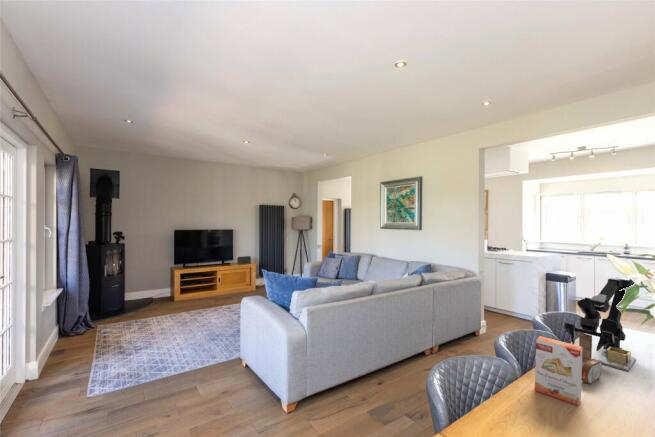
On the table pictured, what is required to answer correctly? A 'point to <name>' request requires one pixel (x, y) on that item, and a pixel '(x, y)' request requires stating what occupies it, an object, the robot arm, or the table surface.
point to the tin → (591, 371)
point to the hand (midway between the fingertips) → (584, 347)
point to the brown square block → (586, 346)
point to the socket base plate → (617, 358)
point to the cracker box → (558, 369)
